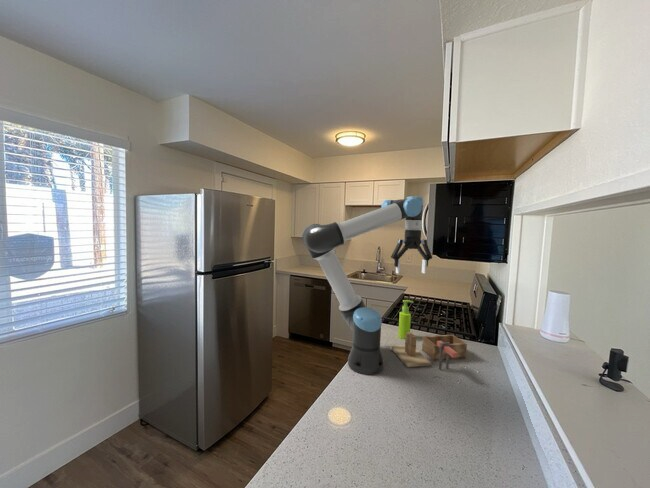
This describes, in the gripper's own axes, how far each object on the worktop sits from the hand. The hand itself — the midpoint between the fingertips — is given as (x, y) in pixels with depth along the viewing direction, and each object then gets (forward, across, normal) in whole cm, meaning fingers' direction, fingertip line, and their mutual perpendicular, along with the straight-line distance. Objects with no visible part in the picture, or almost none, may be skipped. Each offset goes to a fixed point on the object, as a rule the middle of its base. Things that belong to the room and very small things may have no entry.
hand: (410, 273), depth 132 cm
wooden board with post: (+36, -4, -11) cm, 38 cm away
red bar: (+28, +6, -23) cm, 37 cm away
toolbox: (+37, +13, -13) cm, 41 cm away
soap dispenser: (+37, +4, +10) cm, 39 cm away
